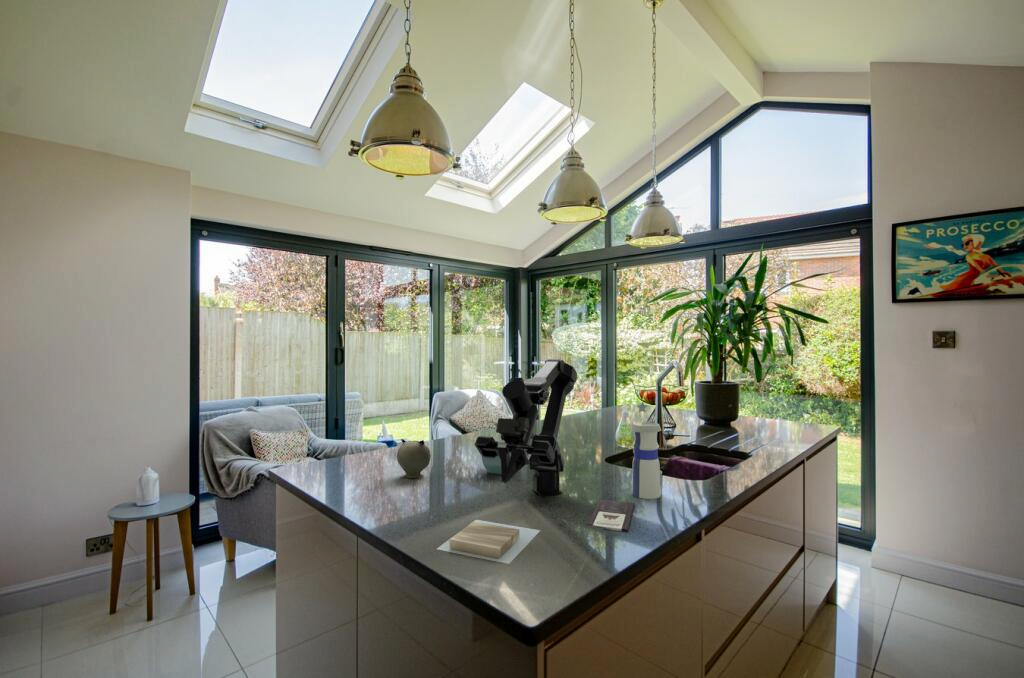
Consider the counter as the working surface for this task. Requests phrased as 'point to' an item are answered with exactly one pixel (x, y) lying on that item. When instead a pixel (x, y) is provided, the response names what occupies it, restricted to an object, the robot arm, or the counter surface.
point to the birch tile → (484, 539)
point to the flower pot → (492, 464)
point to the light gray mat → (510, 554)
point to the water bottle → (646, 459)
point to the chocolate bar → (612, 515)
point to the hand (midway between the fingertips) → (503, 481)
